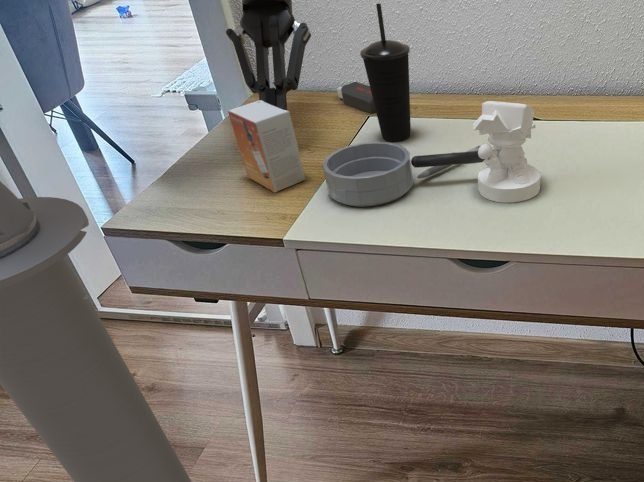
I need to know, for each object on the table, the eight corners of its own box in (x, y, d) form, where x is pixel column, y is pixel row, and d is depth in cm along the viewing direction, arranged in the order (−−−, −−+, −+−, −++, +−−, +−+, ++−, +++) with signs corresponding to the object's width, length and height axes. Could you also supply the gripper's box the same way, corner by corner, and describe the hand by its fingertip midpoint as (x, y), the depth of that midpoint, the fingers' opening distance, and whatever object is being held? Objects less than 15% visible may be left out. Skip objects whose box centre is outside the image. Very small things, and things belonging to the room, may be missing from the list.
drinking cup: (398, 149, 101) (379, 12, 88) (364, 140, 105) (341, 7, 92) (428, 132, 106) (414, 0, 93) (395, 124, 109) (377, -4, 96)
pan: (324, 212, 86) (317, 181, 83) (334, 173, 96) (328, 145, 93) (412, 205, 86) (408, 174, 83) (413, 167, 96) (410, 138, 93)
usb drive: (371, 113, 114) (369, 98, 113) (334, 100, 121) (331, 85, 120) (393, 105, 117) (391, 90, 115) (356, 92, 124) (354, 78, 122)
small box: (247, 178, 96) (226, 109, 89) (279, 166, 99) (260, 98, 92) (274, 193, 92) (254, 122, 85) (306, 180, 94) (289, 110, 88)
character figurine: (468, 197, 87) (462, 110, 79) (494, 168, 93) (491, 86, 86) (528, 206, 84) (528, 117, 76) (550, 176, 90) (553, 91, 82)
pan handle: (411, 170, 89) (410, 159, 88) (411, 165, 90) (410, 154, 89) (486, 163, 89) (485, 153, 87) (485, 159, 90) (484, 148, 89)
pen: (487, 152, 98) (486, 144, 97) (420, 184, 91) (419, 175, 90) (482, 151, 98) (482, 142, 98) (415, 182, 91) (414, 173, 91)
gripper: (313, -1, 102) (322, 139, 100) (234, 6, 102) (241, 146, 100) (301, -32, 95) (310, 118, 93) (215, -25, 95) (223, 125, 93)
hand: (274, 132), depth 97 cm, fingers closed
